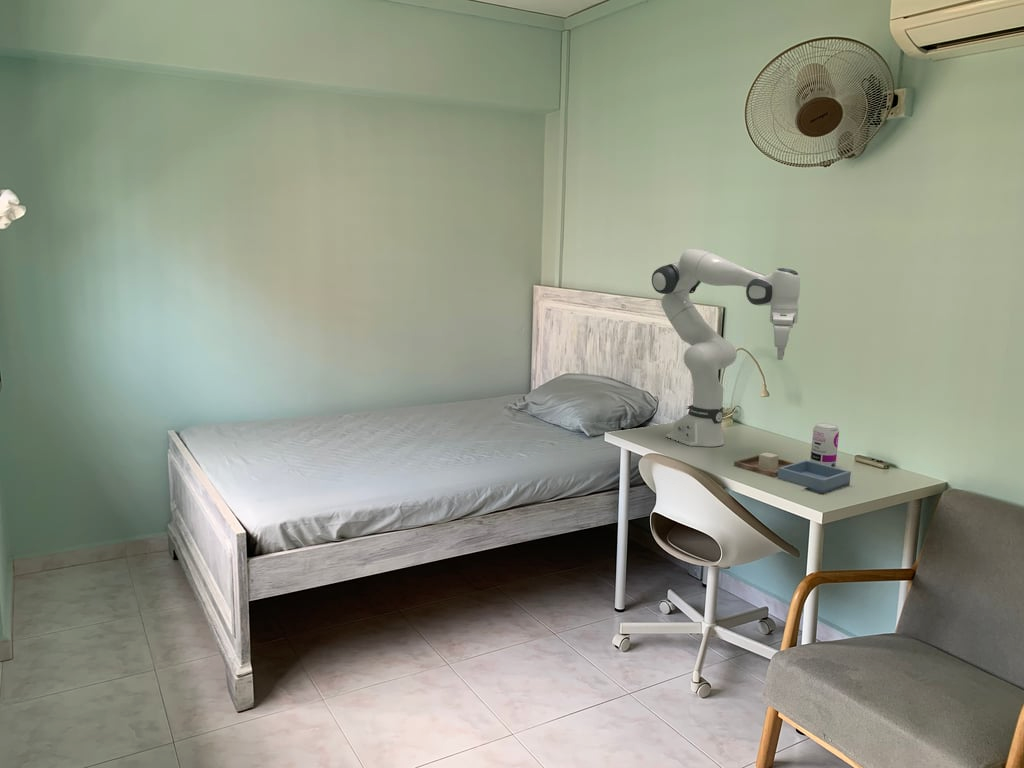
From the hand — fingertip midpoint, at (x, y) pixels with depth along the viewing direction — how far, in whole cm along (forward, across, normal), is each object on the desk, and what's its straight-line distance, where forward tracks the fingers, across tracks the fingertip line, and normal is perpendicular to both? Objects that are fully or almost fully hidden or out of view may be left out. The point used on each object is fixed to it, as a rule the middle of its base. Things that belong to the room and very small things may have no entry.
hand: (780, 357), depth 270 cm
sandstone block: (+37, +8, -1) cm, 38 cm away
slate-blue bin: (+38, +16, +14) cm, 43 cm away
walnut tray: (+38, +8, -1) cm, 39 cm away
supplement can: (+38, -4, +16) cm, 42 cm away
